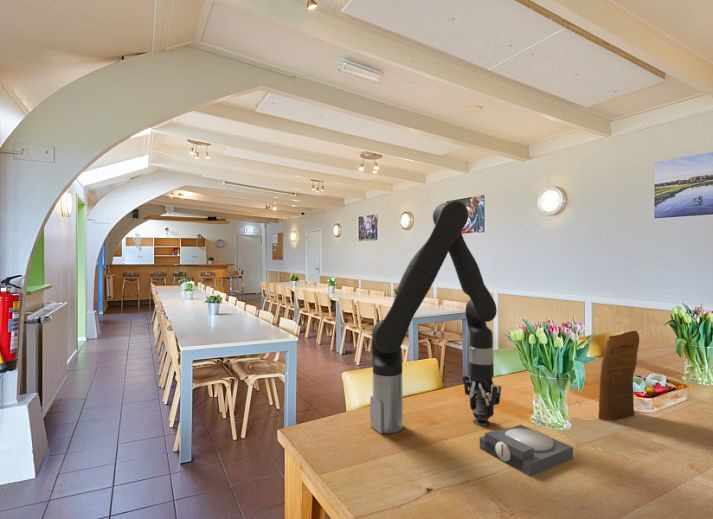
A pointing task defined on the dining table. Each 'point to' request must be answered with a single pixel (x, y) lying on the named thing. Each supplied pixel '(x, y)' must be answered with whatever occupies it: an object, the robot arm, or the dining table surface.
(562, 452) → the kitchen scale
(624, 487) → the dining table surface
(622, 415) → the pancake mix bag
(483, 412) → the salt shaker
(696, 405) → the dining table surface
